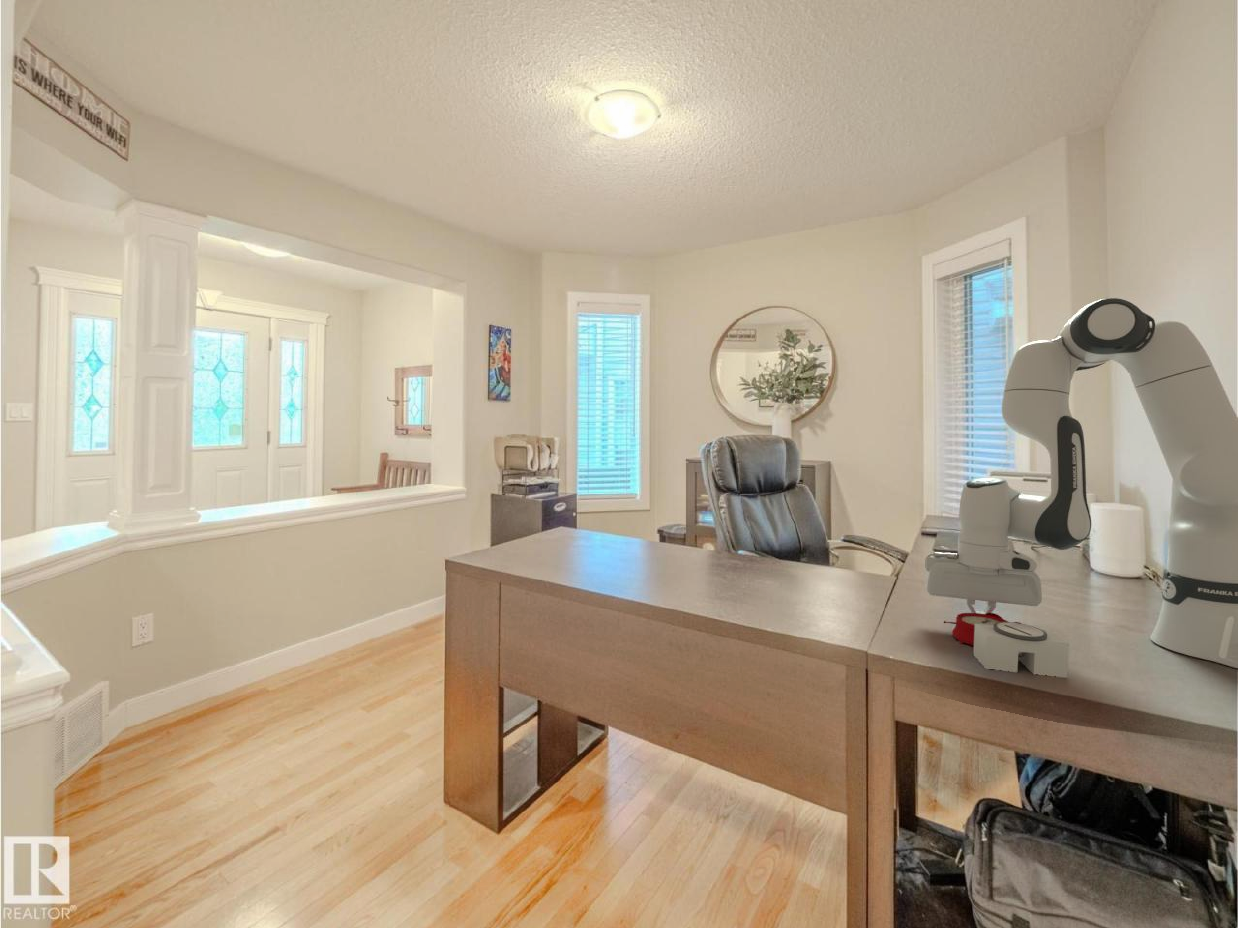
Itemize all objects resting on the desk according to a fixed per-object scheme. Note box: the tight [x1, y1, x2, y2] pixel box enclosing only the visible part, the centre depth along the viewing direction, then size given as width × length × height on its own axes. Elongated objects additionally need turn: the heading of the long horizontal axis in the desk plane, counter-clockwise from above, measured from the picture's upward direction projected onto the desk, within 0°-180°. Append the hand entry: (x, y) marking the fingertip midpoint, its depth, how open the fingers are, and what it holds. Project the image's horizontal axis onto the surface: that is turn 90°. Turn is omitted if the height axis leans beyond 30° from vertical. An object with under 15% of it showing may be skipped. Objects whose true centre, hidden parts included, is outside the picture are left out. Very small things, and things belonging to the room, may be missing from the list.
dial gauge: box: [972, 621, 1070, 679], centre depth 96 cm, size 12×8×7 cm, turn 74°
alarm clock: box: [943, 612, 1023, 646], centre depth 108 cm, size 10×6×15 cm
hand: (979, 620), depth 114 cm, fingers closed
